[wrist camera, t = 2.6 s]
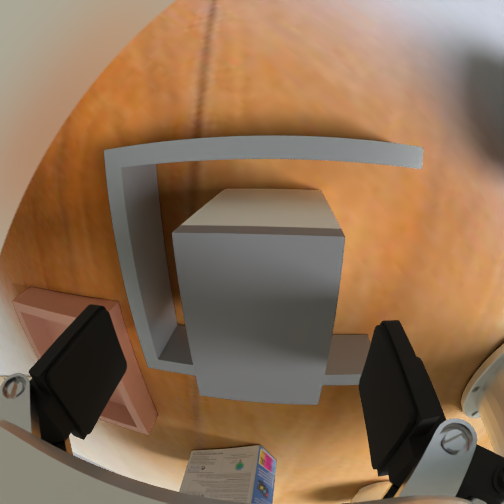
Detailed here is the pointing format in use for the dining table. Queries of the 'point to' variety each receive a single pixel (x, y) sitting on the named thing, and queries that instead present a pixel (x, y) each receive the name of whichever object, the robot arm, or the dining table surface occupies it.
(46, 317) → the tray
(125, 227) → the bay
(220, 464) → the ink cartridge box
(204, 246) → the grey rectangular block
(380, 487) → the lidded jar
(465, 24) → the dining table surface
